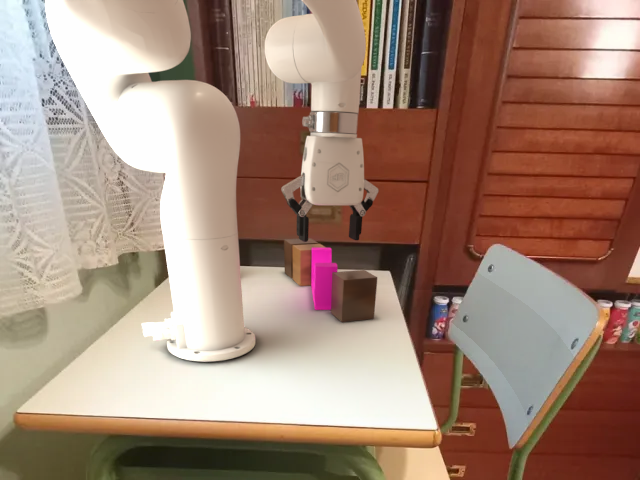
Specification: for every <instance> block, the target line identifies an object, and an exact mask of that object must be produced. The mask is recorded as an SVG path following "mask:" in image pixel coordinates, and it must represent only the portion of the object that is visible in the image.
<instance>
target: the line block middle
mask: <svg viewBox="0 0 640 480" xmlns="http://www.w3.org/2000/svg"><path fill="white" fill-rule="evenodd" d="M312 248H327V247H326V246H325V245H323V244H321V243H318V244H306V245H293V278H292V281H293V282H294V283H296V284H297V285H298V286H299V287H307V286H311V267H312Z"/></svg>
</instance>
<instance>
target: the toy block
mask: <svg viewBox="0 0 640 480" xmlns="http://www.w3.org/2000/svg"><path fill="white" fill-rule="evenodd" d="M332 252H333V249H332V248H331V247H326V248H312V267H311V285H310V286H311V287H310V289H311V293H312V301H313V306H314V308H313V309H314V311H331V295H332V272H338V268H339V267H338V266H339V265H338V264H337V262H333V261H332V254H333V253H332Z"/></svg>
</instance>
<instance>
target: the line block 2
mask: <svg viewBox="0 0 640 480" xmlns="http://www.w3.org/2000/svg"><path fill="white" fill-rule="evenodd" d="M377 285H378V276H375V275H374V274H372V273H370V272H369V271H367V270H366V269H358V270H344V271H343V270H342V271H337V272H332V295H331V310H330V313H331V315H333V316H334V317H335V318H336V319H337V320H338V321H340V323H347V322H357V321H366V320H375V310H376V309H375V308H376V301H377V300H376V299H377V298H376V297H377Z"/></svg>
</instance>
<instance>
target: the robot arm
mask: <svg viewBox="0 0 640 480" xmlns="http://www.w3.org/2000/svg"><path fill="white" fill-rule="evenodd" d="M300 1H301V2H302V3H303V4H304V5H305V6H306V7H307V9H308V10H309V11H310V12H311V13H306V14H300V15H294V16H293V15H292V16H286V17H283V18H281V19H278V20H277V21H276V22H274V23H273V24H272V25H271V27H270V28H269V29H268V31H267V33H266V36H265V39H264V47H263V49H264V55H265V60H266V63H267V66H268V68H269V70H270V71H271V72H272V74H273V75H274V76H275V77H276V78H278V79H279V80H281V81H282V82H284V83H287V84H310V85H311V100H310V112H309V115H307V116H303V117H302V121H301V123H302V127H305V128H306V127H307V129H308V130H309V132H310V134H309V135H306V138H305V142H304V149H303V155H302V162H301V173H300V175H299V176H298V177H296V178H295V179H294V178H293V180H290V181H289V182H287V183H286V184H284V185H283V186H282V187H281V189H280V190H281V193H282V195H283V197H284V200H285V201H286V204H287V205H288V207H289V208H290V209H291V210H292V212H294V214H295V215H296V235H297V237H298V239H300V240H302V241H303V242H307V241H308V238H309V227H310V225H309V224H310V222H309V221H310V219H309V216H307V214H308V212H309V211H310V210H311V208H312V207H313V206H314V205H315V206H349V208H350V210H351V211H352V213H350V215H349V223H348V224H349V225H348V226H349V227H348V238H349V239H351V240H354V241H359V240H360V235H361V234H362V229H363V228H362V227H363V217H364V216H365V215H366V213H367V211H368V210H369V209H371V207H372V206H373V204H374V201H375V199H376V197H377V196H378V193H379V188H378V187H376V186H375V185H374V184H373V183H371V182H369V181H368V180H367V179H366V178H365V158H364V147H363V138H361V137H358V129H359V128H358V127H359V110H360V109H359V108H360V97H361V83H362V82H361V80H362V79H361V78H362V67H363V65H364V63H365V59H366V51H367V46H366V45H367V44H366V42H367V41H366V31H365V26H364V21H363V18H362V14H361V11H360V8H359V5H358V2H357V0H300ZM44 7H45V14H46V16H45V17H46V20H47V24H48V28H49V32H50V35H51V37H52V40H53V43H54V45H55V47H56V49H57V52H58V54H59V56H60V58H61V61H62V62H63V64H64V66H65V67H66V69H67V71H68V73H69V75H70V77H71V79H72V80H73V82H74V84H75V86H76V88H77V89H78V91H79V93H80V95H81V97H82V99H83V101H84V102H85V104H86V106H87V108H88V110H89V111H90V114H91V115H92V117H93V118H94V120H95V122H96V125H97V126H98V128H99V129H100V131H101V133H102V135H103V136H104V138H105V139H106V141H107V143H108V144H109V146H110V147H111V149H112V150H113V152H114V153H115V154H116V155H117V156H118V157H119V158H120V159H121V160H122V161H123V162H124V163H126V164H127V165H128V166H130V167H132V168H134V169H137V170H140V171H144V172H150V173H158V174H160V173H161V174H165V178H164V182H163V188H162V191H161V196H160V203H159V204H160V205H159V216H160V226H161V232H162V239H163V245H164V253H165V259H166V265H167V266H166V267H167V272H168V273H167V274H168V279H169V287H170V295H171V300H172V301H171V302H172V308H173V311H171V312H170V317H169V318H164V321H157V322H155V321H149V322H141V330H142V334H143V337H144V338H147V337H152V340H153V341H163V340H166V346H167V350H168V352H169V353H171V354H172V355H173V356H175V357H177V358H180V359H182V360H185V361H191V362H192V361H193V362H201V363H202V362H205V363H208V362H209V363H210V362H222V361H227V360H232V359H235V358H239V357H241V356H243V355H246V354H248V353H249V352H250V351H251V350H253V349H254V347H255V345H256V335H255V333H254V332H253V330H251V329H249V328H248V327H245V324H244V323H245V321H244V320H245V319H244V306H243V290H242V276H241V275H242V274H241V259H240V244H239V231H238V216H237V215H238V213H237V178H238V168H239V167H238V166H239V157H240V151H241V127H240V121H239V118H238V114H237V111H236V109H235V107H234V105H233V104H232V102H231V101H230V99H229V98H228V97H227V95H225V94H224V92H222V91H221V90H220V89H218V88H217V87H215V86H213V85H212V84H210V83H207V82H203V81H200V80H193V79H176V80H175V79H172V80H169V79H167V80H157V81H152V77H151V76H150V73H158V72H159V73H160V72H164V71H168V70H170V69H174V68H175V67H177V66H178V65H180V64H181V63H182V62H183V61H184V60H185V58H186V57H187V56H188V54H189V52H190V49H191V41H192V31H191V26H190V21H189V15H188V12H187V9H186V5H185V3H184V0H44ZM299 188H300V198H301V200H300V201H299V202H298V201H297V200H296V199H295V196H294V192H295V191H296V190H298V189H299ZM364 190H365V191H366V195H365V198H364Z"/></svg>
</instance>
